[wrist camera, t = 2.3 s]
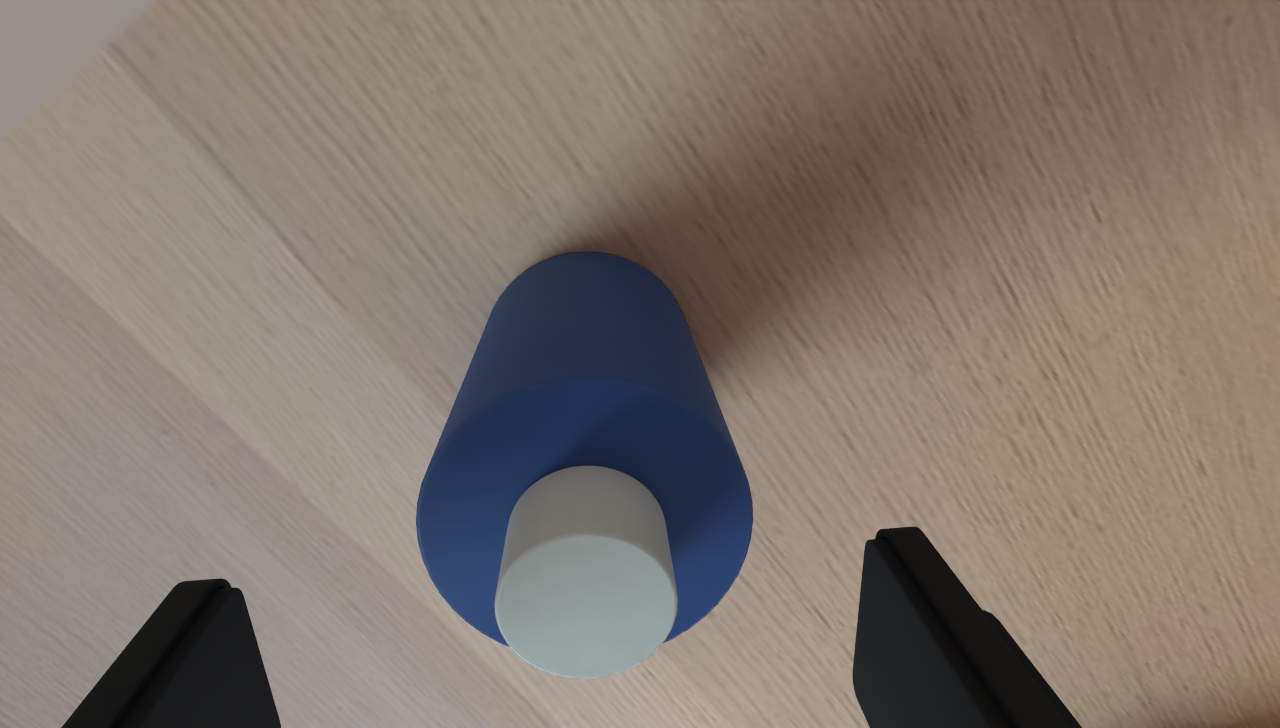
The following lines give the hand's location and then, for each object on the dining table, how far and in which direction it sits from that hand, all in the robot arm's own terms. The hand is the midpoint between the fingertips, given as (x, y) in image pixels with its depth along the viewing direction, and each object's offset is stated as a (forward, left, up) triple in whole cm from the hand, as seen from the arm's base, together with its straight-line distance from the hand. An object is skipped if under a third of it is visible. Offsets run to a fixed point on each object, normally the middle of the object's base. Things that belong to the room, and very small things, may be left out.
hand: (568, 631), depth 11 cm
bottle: (0, 0, -11) cm, 11 cm away
